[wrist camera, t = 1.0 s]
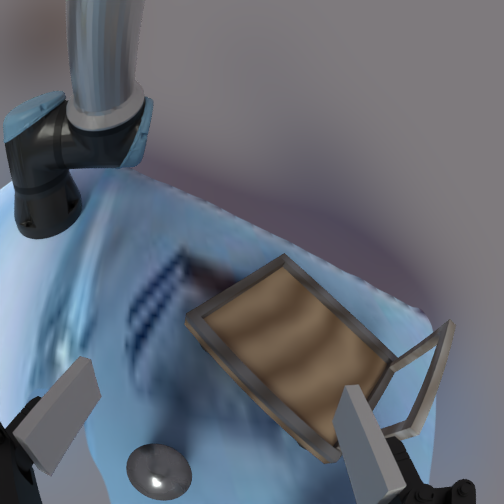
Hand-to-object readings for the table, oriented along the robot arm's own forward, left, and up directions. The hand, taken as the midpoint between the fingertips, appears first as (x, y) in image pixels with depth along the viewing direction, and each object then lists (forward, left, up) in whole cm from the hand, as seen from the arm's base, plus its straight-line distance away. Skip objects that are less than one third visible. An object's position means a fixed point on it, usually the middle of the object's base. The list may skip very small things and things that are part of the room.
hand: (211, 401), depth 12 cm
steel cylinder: (+2, -5, -21) cm, 22 cm away
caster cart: (+2, +17, -21) cm, 27 cm away
